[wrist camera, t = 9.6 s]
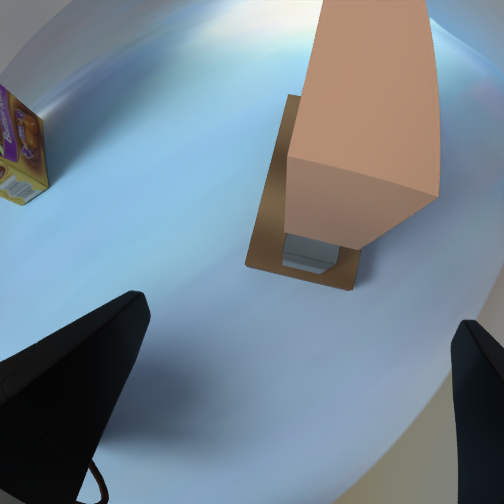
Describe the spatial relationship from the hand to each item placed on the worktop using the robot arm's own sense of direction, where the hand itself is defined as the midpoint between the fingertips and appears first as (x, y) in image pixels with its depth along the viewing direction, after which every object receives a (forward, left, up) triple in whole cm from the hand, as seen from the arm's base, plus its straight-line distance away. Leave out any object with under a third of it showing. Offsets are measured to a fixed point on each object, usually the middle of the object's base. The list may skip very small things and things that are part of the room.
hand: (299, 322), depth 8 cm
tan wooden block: (+7, -4, -1) cm, 9 cm away
